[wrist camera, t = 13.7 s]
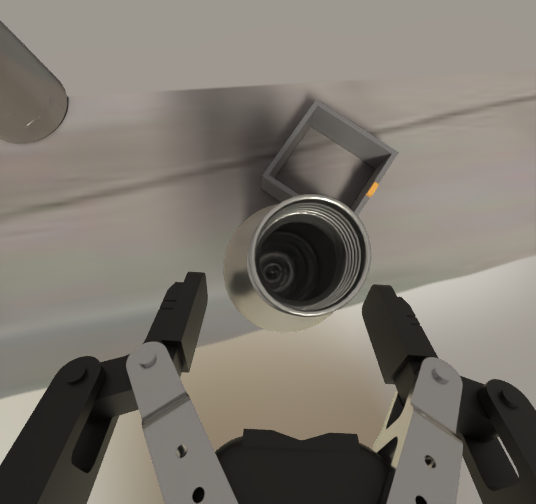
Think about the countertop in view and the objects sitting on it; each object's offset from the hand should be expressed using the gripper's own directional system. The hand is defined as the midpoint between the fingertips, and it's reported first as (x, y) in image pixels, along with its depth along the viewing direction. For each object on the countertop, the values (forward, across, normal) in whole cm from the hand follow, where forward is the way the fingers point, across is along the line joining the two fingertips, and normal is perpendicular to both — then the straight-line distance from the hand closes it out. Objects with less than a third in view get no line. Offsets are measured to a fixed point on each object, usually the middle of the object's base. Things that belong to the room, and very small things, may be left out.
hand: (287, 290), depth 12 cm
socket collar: (+19, -5, +2) cm, 20 cm away
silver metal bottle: (+12, 0, +10) cm, 15 cm away
